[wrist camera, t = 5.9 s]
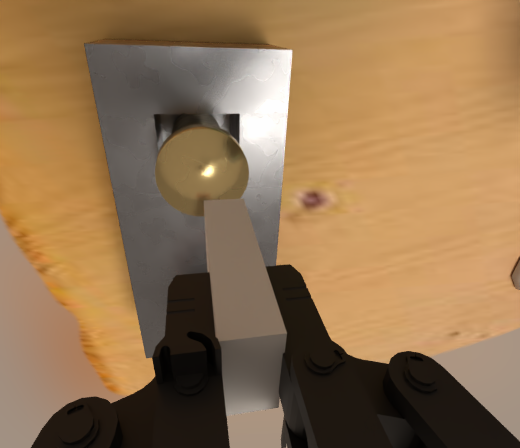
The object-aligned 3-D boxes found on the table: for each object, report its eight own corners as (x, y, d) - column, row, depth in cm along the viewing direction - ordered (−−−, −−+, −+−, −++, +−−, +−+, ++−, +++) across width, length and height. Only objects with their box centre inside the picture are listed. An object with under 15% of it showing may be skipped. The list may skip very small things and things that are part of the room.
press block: (105, 38, 22) (83, 43, 17) (268, 44, 24) (292, 49, 19) (150, 308, 34) (146, 358, 29) (257, 296, 36) (270, 341, 31)
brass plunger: (157, 100, 23) (149, 130, 17) (230, 100, 24) (250, 128, 18) (165, 169, 26) (160, 219, 19) (231, 167, 26) (248, 213, 20)
